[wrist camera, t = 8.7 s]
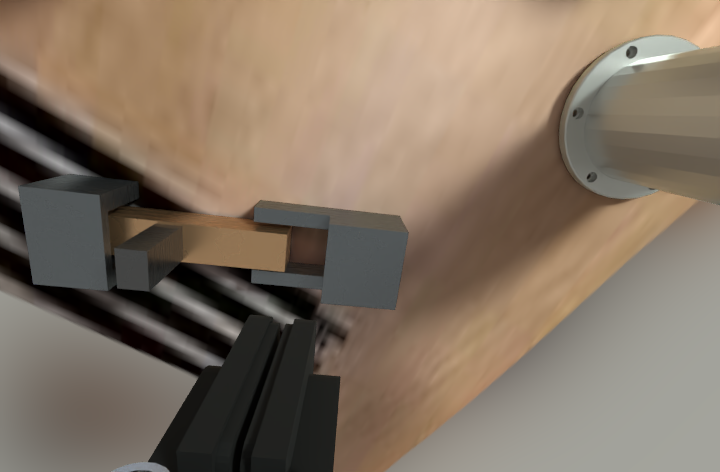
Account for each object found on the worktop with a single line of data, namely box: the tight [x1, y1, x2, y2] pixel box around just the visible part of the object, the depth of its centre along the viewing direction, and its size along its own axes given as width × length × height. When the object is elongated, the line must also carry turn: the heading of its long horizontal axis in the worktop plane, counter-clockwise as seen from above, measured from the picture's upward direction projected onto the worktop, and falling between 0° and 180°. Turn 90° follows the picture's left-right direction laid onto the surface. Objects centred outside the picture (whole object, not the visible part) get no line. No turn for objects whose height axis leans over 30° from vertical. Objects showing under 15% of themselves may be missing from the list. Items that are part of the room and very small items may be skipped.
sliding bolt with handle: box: [108, 206, 292, 291], centre depth 28 cm, size 16×3×8 cm, turn 83°
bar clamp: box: [18, 174, 408, 310], centre depth 30 cm, size 27×7×5 cm, turn 83°
